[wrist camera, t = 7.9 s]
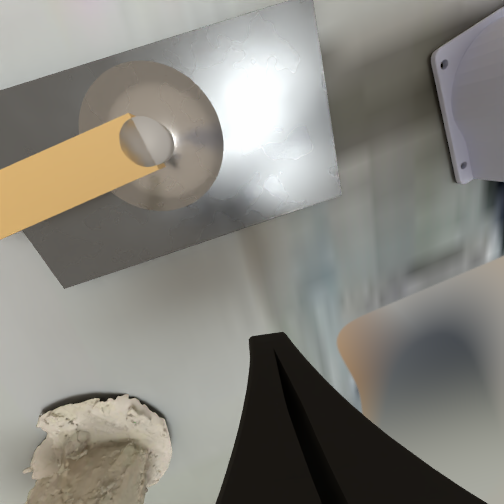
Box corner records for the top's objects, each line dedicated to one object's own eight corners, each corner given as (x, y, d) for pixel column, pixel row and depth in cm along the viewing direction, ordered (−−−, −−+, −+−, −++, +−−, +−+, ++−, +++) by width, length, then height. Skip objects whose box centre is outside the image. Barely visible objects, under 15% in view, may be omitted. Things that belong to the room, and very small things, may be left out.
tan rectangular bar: (159, 109, 12) (150, 102, 10) (183, 158, 13) (179, 160, 11) (-48, 201, 12) (-93, 210, 10) (-9, 243, 13) (-44, 258, 11)
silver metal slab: (305, 3, 14) (328, -32, 11) (335, 192, 19) (357, 200, 16) (-46, 112, 14) (-109, 104, 11) (71, 281, 18) (46, 305, 15)
